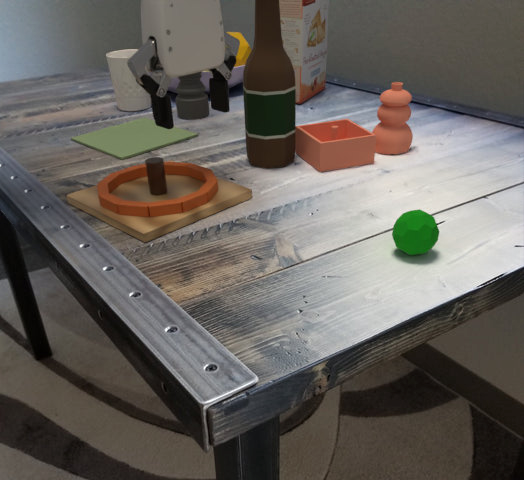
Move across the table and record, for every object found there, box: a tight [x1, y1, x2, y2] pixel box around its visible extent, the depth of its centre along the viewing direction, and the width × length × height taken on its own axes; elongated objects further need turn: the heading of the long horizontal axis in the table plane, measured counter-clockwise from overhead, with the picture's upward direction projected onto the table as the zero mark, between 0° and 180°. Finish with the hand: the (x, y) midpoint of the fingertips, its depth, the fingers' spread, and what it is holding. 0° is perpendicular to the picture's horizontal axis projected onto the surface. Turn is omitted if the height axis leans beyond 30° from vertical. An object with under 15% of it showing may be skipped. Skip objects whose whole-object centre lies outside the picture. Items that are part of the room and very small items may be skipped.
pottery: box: [295, 81, 414, 173], centre depth 89 cm, size 18×10×10 cm, turn 110°
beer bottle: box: [242, 0, 297, 170], centre depth 84 cm, size 8×8×24 cm
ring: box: [96, 161, 218, 217], centre depth 79 cm, size 16×16×1 cm
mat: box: [70, 117, 199, 161], centre depth 102 cm, size 16×16×1 cm
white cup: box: [105, 48, 152, 112], centre depth 116 cm, size 8×8×10 cm
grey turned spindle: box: [175, 71, 210, 120], centre depth 105 cm, size 6×6×25 cm
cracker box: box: [279, 0, 330, 105], centre depth 116 cm, size 14×6×21 cm, turn 154°
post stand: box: [65, 156, 253, 243], centre depth 78 cm, size 18×18×6 cm
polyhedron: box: [391, 208, 440, 257], centre depth 64 cm, size 5×5×5 cm
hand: (193, 118), depth 78 cm, fingers open, 9 cm apart
